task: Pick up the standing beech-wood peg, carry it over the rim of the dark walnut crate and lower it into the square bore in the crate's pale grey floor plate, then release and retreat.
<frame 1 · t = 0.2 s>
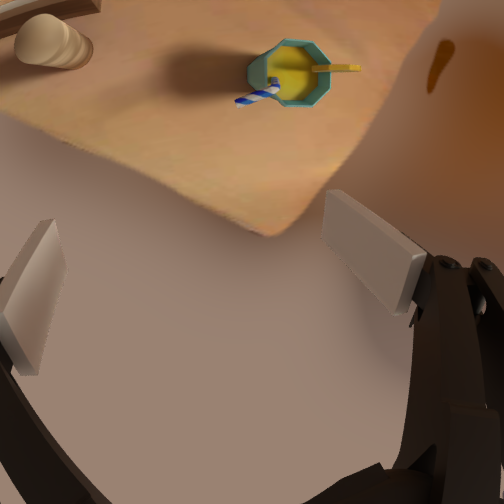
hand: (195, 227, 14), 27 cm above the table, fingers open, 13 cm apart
cup: (259, 77, 36), on the table
peg: (76, 52, 28), on the table
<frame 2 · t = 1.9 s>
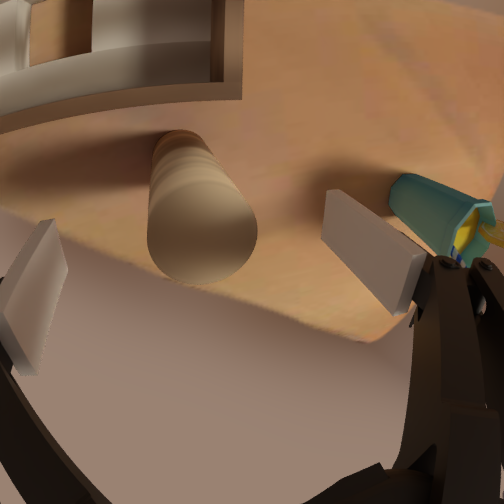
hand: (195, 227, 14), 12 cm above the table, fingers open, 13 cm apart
cup: (399, 197, 33), on the table
crate: (63, 27, 16), on the table
peg: (180, 157, 24), on the table
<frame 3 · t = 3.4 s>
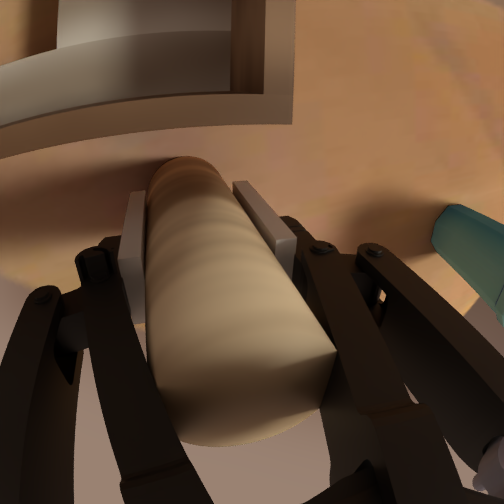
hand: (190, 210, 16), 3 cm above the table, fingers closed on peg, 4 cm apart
cup: (441, 231, 27), on the table
crate: (26, 19, 10), on the table
peg: (186, 193, 18), on the table, touching gripper
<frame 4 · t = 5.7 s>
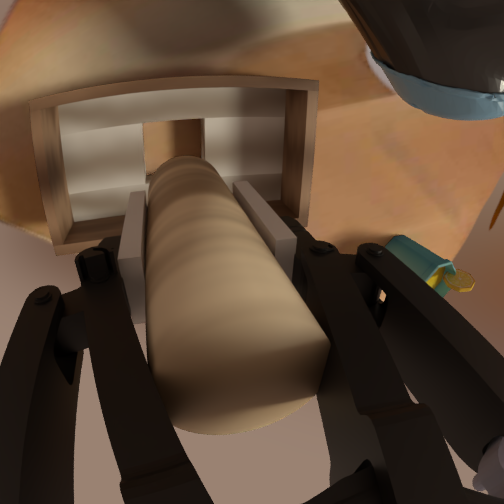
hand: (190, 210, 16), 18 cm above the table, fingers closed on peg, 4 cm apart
cup: (390, 251, 48), on the table
crate: (172, 145, 31), on the table
peg: (185, 192, 19), point 15 cm above the table, touching gripper
when the fingers open (4 cm above the table, at t = 8.2 s): peg stays where it is, resting in crate.
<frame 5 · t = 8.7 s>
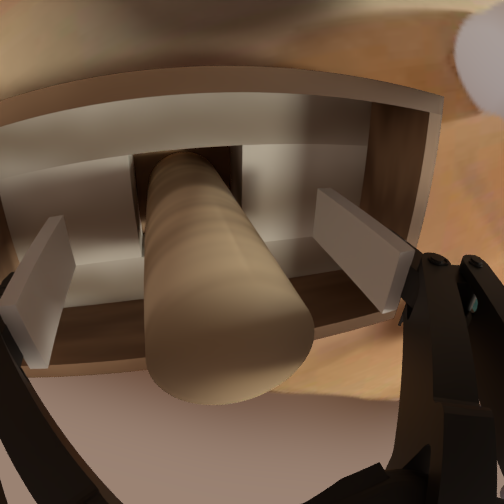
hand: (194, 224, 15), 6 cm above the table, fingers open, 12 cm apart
crate: (183, 186, 20), on the table
peg: (183, 186, 20), resting in crate
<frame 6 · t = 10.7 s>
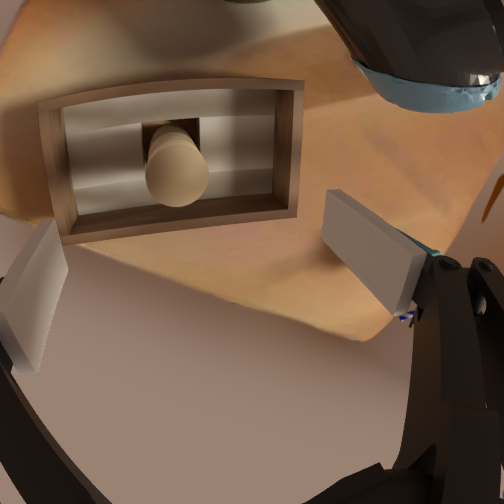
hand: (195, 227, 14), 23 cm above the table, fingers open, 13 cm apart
crate: (170, 143, 33), on the table
peg: (170, 143, 33), resting in crate
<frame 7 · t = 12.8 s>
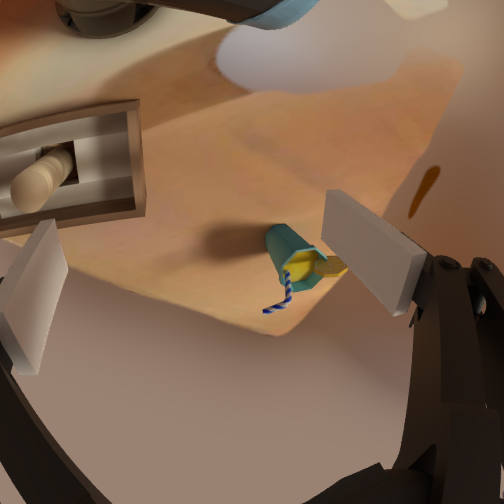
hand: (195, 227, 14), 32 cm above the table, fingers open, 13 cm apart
cup: (274, 239, 54), on the table
crate: (62, 160, 38), on the table
peg: (62, 160, 38), resting in crate
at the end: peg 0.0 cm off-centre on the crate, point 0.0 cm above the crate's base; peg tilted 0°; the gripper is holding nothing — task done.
